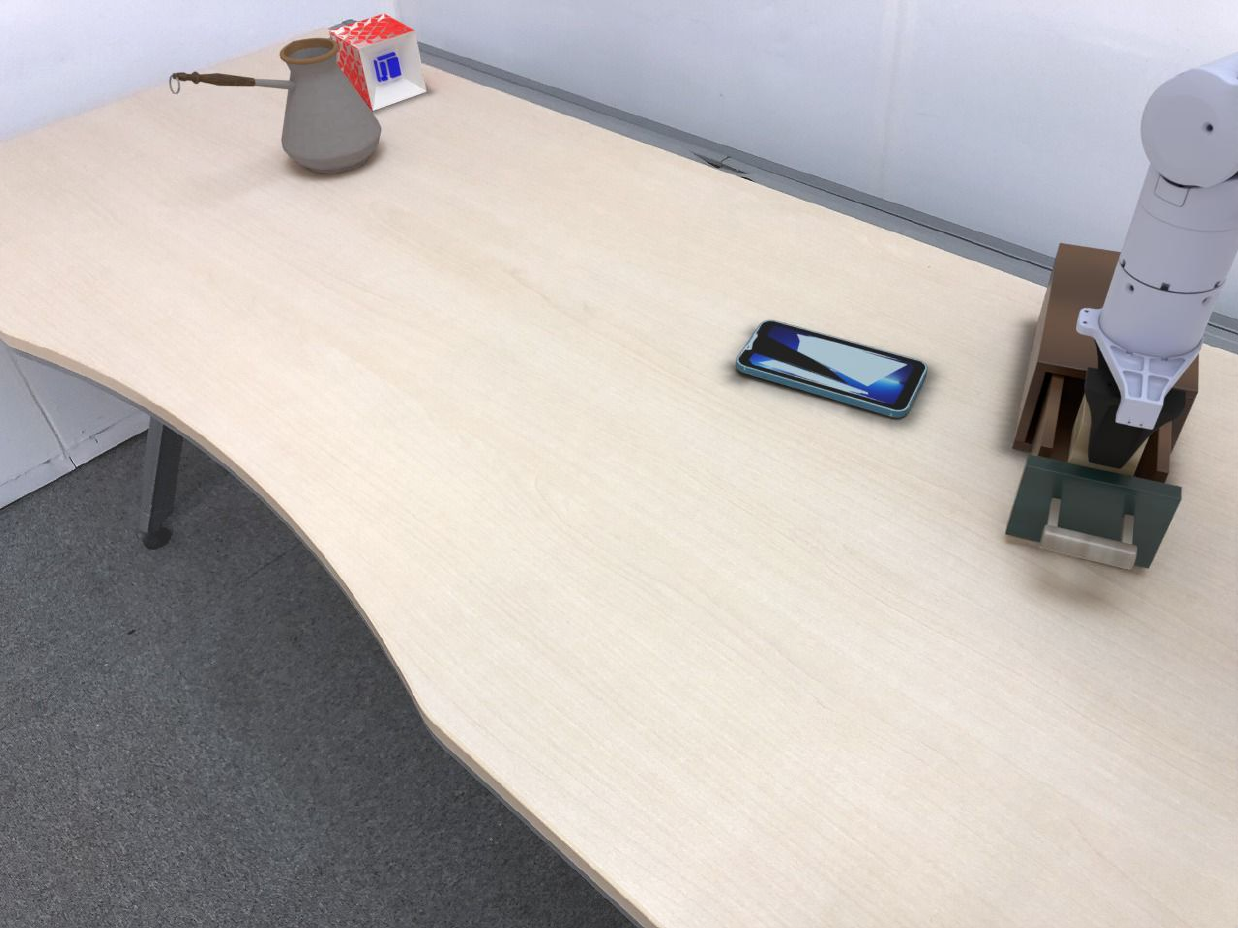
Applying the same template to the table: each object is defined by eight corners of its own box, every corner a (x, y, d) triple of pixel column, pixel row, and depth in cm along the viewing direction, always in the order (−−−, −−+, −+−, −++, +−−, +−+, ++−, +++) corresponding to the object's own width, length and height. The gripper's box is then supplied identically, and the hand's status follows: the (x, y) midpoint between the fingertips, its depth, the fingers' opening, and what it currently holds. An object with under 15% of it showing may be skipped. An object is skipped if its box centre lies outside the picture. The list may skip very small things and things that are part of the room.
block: (1133, 442, 70) (1151, 397, 67) (1130, 481, 68) (1149, 436, 65) (1072, 430, 71) (1087, 385, 69) (1066, 467, 69) (1082, 423, 66)
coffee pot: (354, 126, 127) (323, 1, 116) (405, 156, 120) (377, 26, 110) (193, 190, 117) (143, 60, 107) (238, 226, 111) (190, 92, 100)
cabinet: (1159, 480, 76) (1198, 391, 71) (1011, 448, 80) (1036, 361, 74) (1166, 350, 87) (1200, 264, 81) (1036, 327, 91) (1059, 242, 85)
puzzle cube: (396, 74, 137) (384, 13, 132) (426, 92, 133) (415, 30, 127) (343, 92, 134) (328, 31, 129) (372, 111, 129) (357, 49, 124)
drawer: (1146, 617, 67) (1180, 547, 62) (996, 579, 69) (1017, 510, 65) (1157, 424, 80) (1186, 355, 75) (1030, 399, 82) (1050, 331, 78)
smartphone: (905, 415, 82) (731, 363, 87) (903, 423, 83) (731, 372, 88) (930, 362, 87) (764, 316, 92) (928, 371, 87) (764, 325, 92)
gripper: (1106, 194, 65) (1055, 363, 75) (1088, 324, 56) (1032, 498, 65) (1229, 211, 63) (1160, 383, 72) (1232, 349, 53) (1152, 525, 63)
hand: (1107, 439), depth 69 cm, fingers closed on block, 4 cm apart
